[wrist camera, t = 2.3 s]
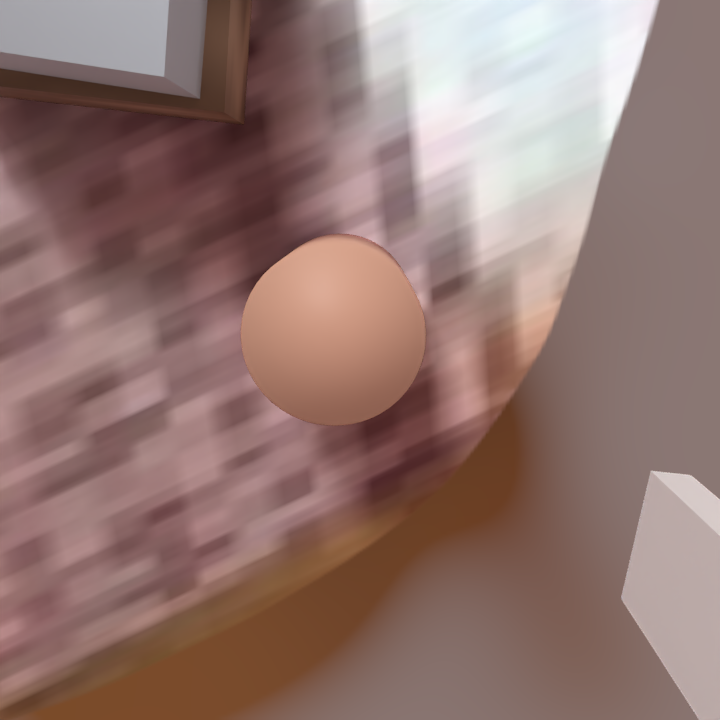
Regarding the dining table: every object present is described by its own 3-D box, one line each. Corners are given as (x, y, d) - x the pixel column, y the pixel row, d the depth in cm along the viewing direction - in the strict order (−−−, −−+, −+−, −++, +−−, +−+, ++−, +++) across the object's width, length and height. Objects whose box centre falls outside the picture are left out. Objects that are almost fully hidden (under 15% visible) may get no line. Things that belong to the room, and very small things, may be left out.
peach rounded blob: (274, 225, 33) (246, 234, 25) (420, 242, 33) (437, 255, 25) (264, 367, 35) (235, 416, 27) (402, 382, 35) (413, 434, 27)
